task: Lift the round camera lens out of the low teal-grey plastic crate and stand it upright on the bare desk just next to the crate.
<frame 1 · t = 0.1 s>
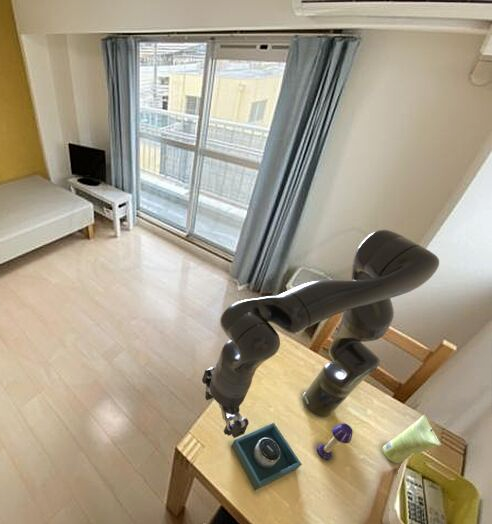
hand: (218, 414, 72), 29 cm above the table, tool pointing down, fingers open, 8 cm apart
camera lens: (262, 457, 90), resting on crate
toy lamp: (323, 451, 92), on the table
tube: (391, 454, 91), on the table
crate: (262, 458, 90), on the table
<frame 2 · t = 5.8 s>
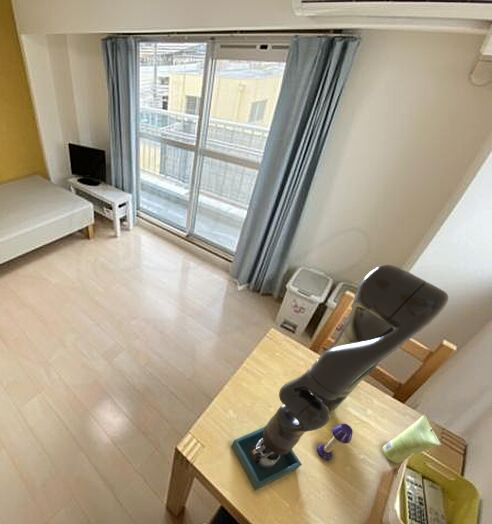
hand: (264, 455, 88), 3 cm above the table, tool pointing down, fingers closed on camera lens, 6 cm apart
camera lens: (262, 457, 90), resting on crate, touching gripper
everything else where it was.
when the fingers open (2 cm above the table, at t = 13.6 s): camera lens stays where it is, on the table.
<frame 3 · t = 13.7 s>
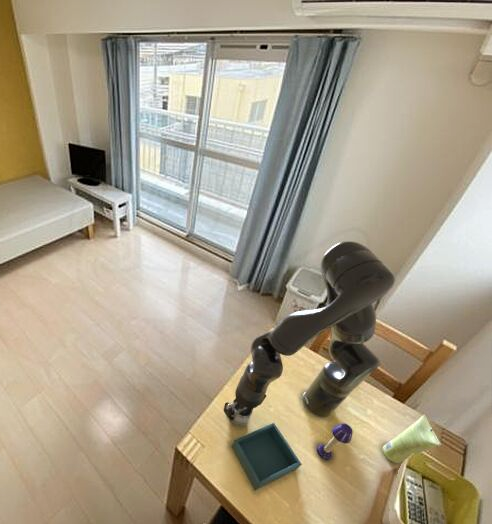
hand: (239, 413, 98), 2 cm above the table, tool pointing down, fingers open, 6 cm apart
camera lens: (237, 417, 100), on the table
everything else where it was.
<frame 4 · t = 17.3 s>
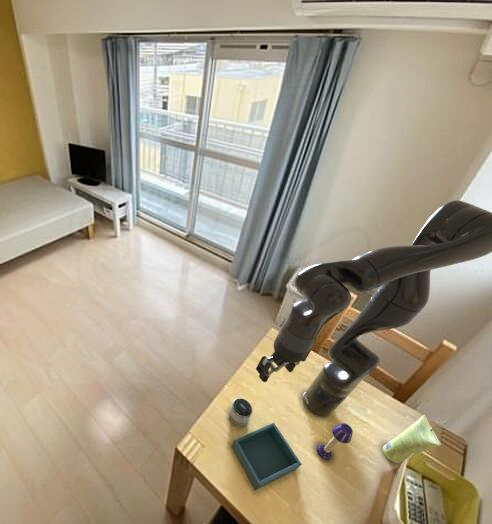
hand: (275, 374, 81), 28 cm above the table, tool pointing down, fingers open, 8 cm apart
nothing on the table moved.
at the end: camera lens inside the target area (0.1 cm from its centre), on the table; camera lens tilted 0°; the gripper is holding nothing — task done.
